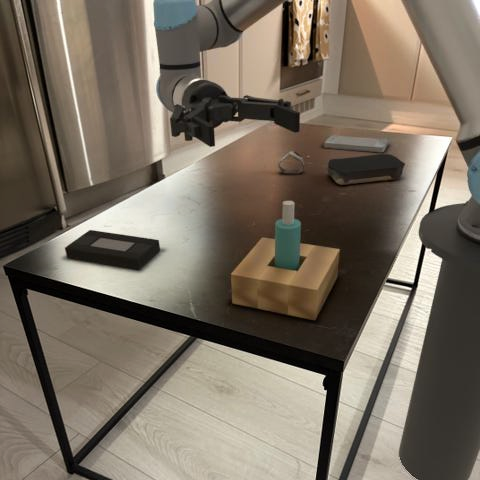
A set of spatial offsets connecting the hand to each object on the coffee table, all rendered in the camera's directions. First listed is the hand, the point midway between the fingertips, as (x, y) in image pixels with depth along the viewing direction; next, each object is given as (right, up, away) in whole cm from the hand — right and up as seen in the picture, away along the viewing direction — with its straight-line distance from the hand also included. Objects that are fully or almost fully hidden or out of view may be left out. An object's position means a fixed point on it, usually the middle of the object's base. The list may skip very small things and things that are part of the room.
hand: (256, 129), depth 72 cm
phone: (+29, +20, +65) cm, 74 cm away
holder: (+5, -23, +5) cm, 24 cm away
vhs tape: (-24, -16, +17) cm, 33 cm away
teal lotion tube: (+5, -23, +5) cm, 24 cm away
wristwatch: (+10, +8, +49) cm, 50 cm away
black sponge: (+26, +6, +44) cm, 52 cm away
